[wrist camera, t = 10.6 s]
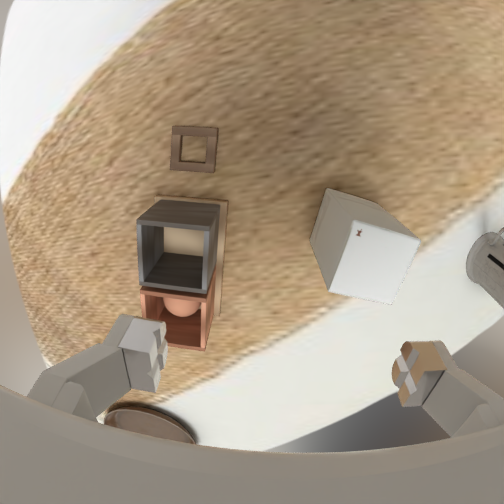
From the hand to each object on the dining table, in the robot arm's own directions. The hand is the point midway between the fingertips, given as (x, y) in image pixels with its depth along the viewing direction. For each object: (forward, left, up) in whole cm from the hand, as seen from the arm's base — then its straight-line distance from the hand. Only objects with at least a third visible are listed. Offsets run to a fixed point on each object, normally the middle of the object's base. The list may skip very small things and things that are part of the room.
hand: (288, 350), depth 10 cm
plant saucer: (+53, -18, -30) cm, 64 cm away
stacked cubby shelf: (+11, -9, -29) cm, 33 cm away
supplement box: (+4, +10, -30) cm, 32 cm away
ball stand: (-3, -9, -29) cm, 31 cm away
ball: (+15, -9, -26) cm, 31 cm away
